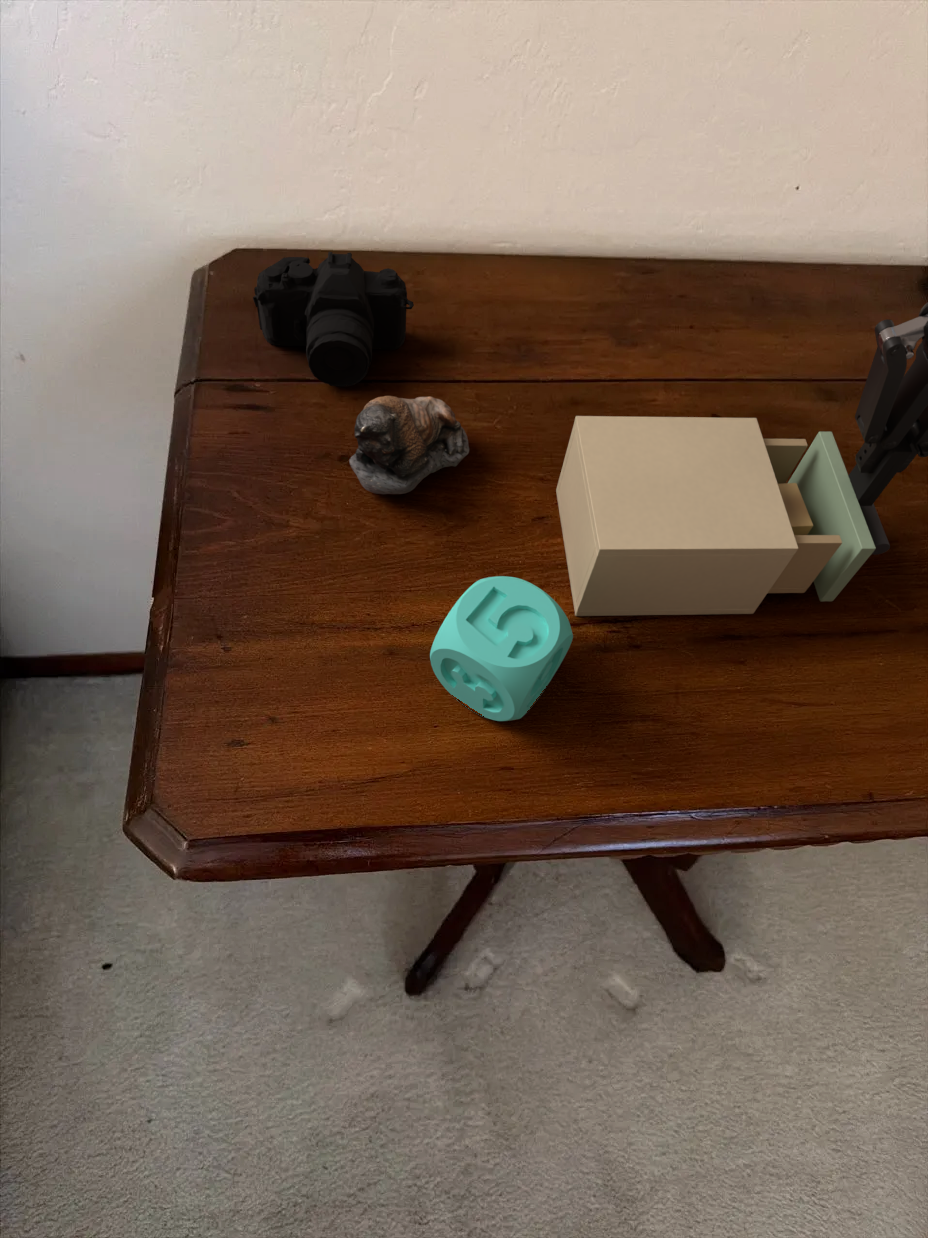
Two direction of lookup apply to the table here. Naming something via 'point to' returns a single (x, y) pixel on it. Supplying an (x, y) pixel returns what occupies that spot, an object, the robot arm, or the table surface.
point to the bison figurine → (405, 442)
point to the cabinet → (671, 516)
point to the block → (795, 508)
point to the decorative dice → (500, 646)
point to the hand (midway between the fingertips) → (858, 492)
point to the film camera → (332, 313)
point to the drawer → (825, 518)
